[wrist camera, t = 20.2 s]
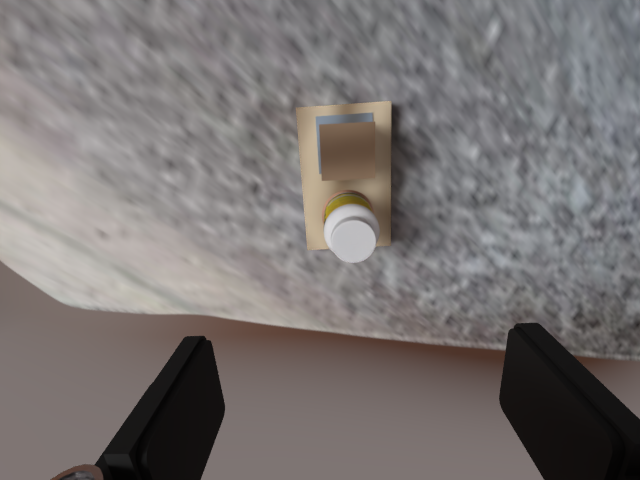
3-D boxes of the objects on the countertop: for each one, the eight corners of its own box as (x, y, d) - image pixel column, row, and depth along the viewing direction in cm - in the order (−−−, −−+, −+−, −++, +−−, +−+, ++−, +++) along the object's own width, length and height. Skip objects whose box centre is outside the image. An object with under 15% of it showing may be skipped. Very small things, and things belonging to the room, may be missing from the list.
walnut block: (367, 171, 36) (375, 178, 30) (322, 173, 36) (321, 180, 31) (367, 123, 35) (375, 121, 29) (320, 125, 35) (319, 124, 29)
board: (387, 102, 36) (391, 100, 34) (387, 240, 41) (391, 246, 39) (297, 109, 36) (295, 107, 34) (308, 244, 41) (307, 250, 39)
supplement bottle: (316, 203, 37) (312, 226, 28) (359, 183, 37) (371, 200, 27) (335, 244, 39) (338, 279, 30) (377, 225, 38) (394, 255, 29)
